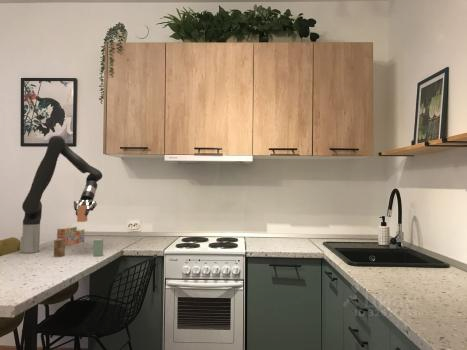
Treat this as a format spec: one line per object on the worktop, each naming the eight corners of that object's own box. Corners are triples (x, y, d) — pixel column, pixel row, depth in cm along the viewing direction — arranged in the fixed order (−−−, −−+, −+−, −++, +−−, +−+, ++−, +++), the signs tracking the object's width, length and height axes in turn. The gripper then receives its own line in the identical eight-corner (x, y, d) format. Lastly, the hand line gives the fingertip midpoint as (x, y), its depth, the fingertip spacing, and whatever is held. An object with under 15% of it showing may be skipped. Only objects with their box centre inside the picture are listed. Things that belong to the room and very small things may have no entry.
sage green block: (93, 256, 188) (93, 240, 188) (95, 254, 192) (95, 239, 193) (100, 256, 188) (101, 240, 189) (102, 254, 193) (103, 238, 193)
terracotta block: (77, 221, 191) (77, 206, 192) (79, 221, 196) (80, 205, 196) (84, 221, 192) (85, 206, 192) (87, 221, 196) (87, 205, 196)
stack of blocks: (76, 241, 238) (77, 224, 238) (84, 241, 237) (84, 225, 237) (56, 246, 216) (57, 228, 217) (64, 247, 215) (65, 228, 216)
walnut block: (53, 256, 185) (54, 240, 185) (56, 255, 189) (57, 239, 190) (61, 256, 186) (62, 240, 186) (64, 255, 190) (65, 239, 190)
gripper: (75, 190, 201) (67, 210, 188) (99, 190, 203) (92, 211, 190) (78, 198, 206) (70, 218, 194) (101, 198, 208) (94, 219, 195)
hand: (81, 214), depth 192 cm, fingers closed on terracotta block, 4 cm apart
